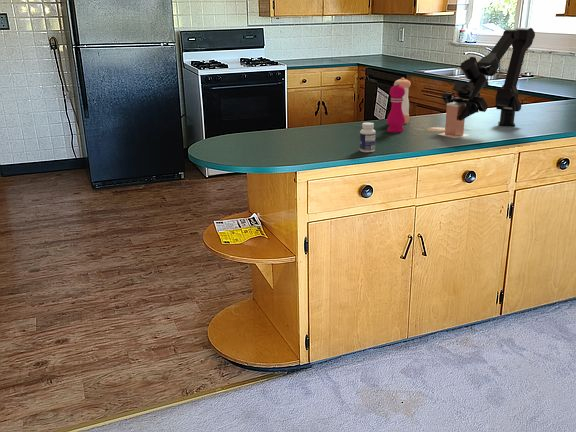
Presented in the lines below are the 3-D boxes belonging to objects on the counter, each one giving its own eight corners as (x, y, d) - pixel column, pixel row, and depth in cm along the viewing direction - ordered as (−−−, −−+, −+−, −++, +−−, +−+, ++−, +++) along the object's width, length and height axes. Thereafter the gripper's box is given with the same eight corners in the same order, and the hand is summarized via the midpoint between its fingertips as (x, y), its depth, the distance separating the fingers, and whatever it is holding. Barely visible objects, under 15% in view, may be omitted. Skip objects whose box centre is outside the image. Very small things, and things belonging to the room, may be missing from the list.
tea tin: (452, 132, 233) (455, 101, 229) (463, 134, 230) (466, 103, 225) (444, 134, 231) (446, 103, 227) (454, 136, 227) (457, 104, 223)
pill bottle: (358, 149, 210) (358, 122, 207) (372, 148, 211) (373, 121, 207) (361, 152, 205) (362, 125, 202) (376, 152, 206) (377, 124, 202)
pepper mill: (404, 133, 235) (407, 82, 228) (386, 132, 236) (388, 82, 230) (404, 129, 242) (407, 80, 235) (386, 129, 243) (389, 80, 236)
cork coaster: (427, 127, 245) (427, 126, 245) (451, 128, 242) (452, 127, 242) (425, 132, 236) (425, 131, 236) (451, 133, 233) (451, 132, 233)
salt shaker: (410, 121, 259) (413, 77, 252) (406, 124, 252) (409, 78, 246) (394, 120, 262) (396, 76, 255) (390, 123, 255) (392, 78, 249)
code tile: (452, 132, 236) (452, 131, 236) (470, 135, 229) (470, 134, 229) (437, 135, 231) (437, 134, 231) (455, 138, 224) (455, 137, 224)
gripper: (446, 71, 232) (425, 102, 229) (486, 75, 217) (464, 108, 215) (457, 90, 239) (437, 120, 236) (497, 95, 224) (476, 127, 222)
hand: (452, 119), depth 227 cm, fingers open, 6 cm apart
